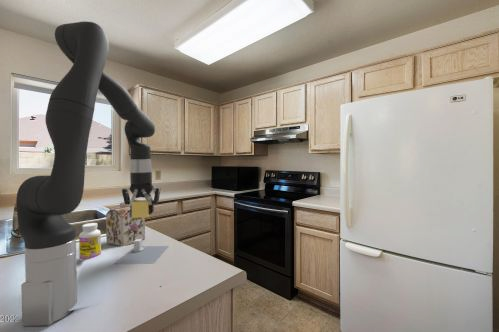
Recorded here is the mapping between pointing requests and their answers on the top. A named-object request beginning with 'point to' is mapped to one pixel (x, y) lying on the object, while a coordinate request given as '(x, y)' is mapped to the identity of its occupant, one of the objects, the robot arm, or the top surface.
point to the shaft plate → (142, 254)
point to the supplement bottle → (89, 241)
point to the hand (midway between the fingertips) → (142, 214)
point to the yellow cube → (140, 208)
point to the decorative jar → (123, 226)
